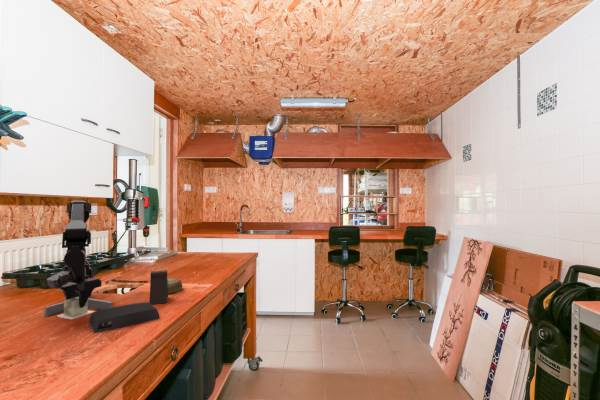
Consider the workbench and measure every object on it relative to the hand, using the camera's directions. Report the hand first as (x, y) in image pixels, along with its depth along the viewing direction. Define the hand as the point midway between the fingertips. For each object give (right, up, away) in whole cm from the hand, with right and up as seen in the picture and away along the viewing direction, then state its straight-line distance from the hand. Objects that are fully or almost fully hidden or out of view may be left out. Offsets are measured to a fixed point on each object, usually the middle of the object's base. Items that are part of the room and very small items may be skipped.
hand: (76, 306), depth 114 cm
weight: (+19, -4, +31) cm, 37 cm away
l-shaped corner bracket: (0, -3, +2) cm, 3 cm away
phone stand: (+23, -3, +16) cm, 28 cm away
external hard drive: (+20, -3, -6) cm, 22 cm away
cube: (0, -3, 0) cm, 2 cm away
